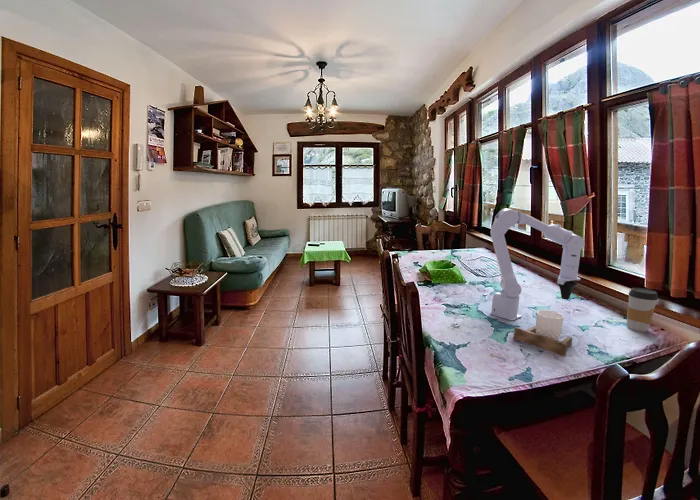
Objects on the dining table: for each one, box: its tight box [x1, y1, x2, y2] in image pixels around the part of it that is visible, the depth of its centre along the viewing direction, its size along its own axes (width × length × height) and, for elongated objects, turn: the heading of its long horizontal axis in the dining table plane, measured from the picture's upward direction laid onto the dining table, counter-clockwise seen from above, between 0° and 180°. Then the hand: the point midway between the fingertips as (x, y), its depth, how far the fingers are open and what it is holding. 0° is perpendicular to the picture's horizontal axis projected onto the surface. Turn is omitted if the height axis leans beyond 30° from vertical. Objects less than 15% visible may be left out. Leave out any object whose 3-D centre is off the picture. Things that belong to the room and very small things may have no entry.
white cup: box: [535, 309, 565, 341], centre depth 114 cm, size 8×8×10 cm
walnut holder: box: [513, 325, 573, 357], centre depth 114 cm, size 16×11×4 cm
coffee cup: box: [626, 287, 659, 333], centre depth 126 cm, size 8×8×15 cm
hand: (565, 299), depth 131 cm, fingers closed
